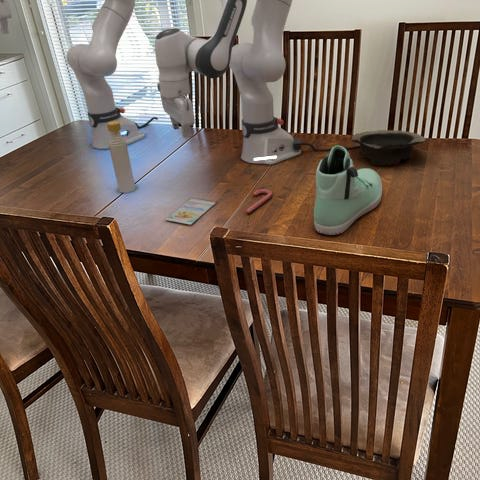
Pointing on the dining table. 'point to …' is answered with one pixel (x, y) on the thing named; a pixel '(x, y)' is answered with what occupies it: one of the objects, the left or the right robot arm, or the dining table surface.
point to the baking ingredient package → (190, 211)
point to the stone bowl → (387, 145)
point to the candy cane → (261, 201)
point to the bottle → (121, 162)
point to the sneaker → (343, 192)
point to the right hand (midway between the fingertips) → (180, 132)
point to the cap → (113, 126)
